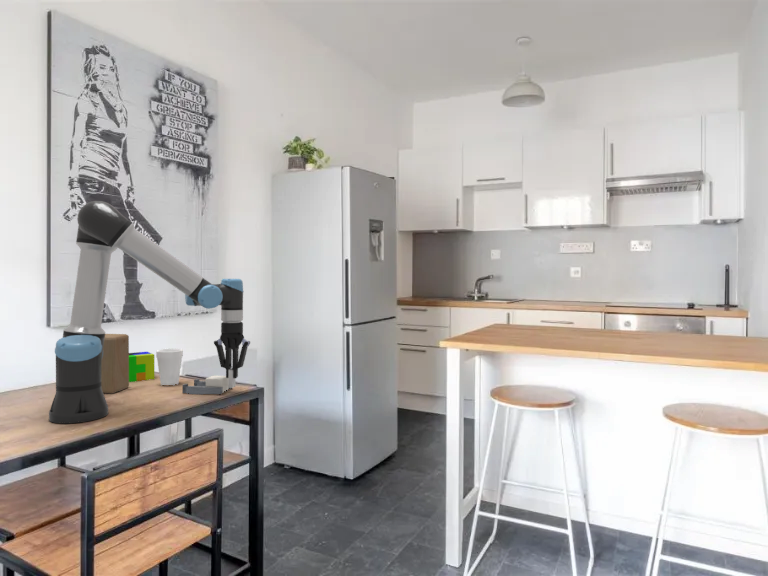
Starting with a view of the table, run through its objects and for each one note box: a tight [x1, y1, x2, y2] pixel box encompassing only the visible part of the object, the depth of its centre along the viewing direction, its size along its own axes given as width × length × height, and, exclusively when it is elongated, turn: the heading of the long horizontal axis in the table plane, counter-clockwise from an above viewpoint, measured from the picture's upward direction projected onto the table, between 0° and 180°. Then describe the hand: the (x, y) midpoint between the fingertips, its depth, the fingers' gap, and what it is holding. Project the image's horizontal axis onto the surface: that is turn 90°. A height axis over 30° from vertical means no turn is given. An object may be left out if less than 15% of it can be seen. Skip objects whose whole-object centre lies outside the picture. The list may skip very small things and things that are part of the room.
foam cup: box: [155, 348, 184, 386], centre depth 198 cm, size 10×9×13 cm
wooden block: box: [101, 333, 130, 394], centre depth 187 cm, size 10×10×20 cm
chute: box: [181, 378, 232, 395], centre depth 188 cm, size 10×14×3 cm
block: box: [205, 375, 229, 393], centre depth 187 cm, size 6×6×5 cm
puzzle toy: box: [129, 351, 155, 383], centre depth 208 cm, size 10×10×10 cm
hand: (231, 387), depth 187 cm, fingers closed
